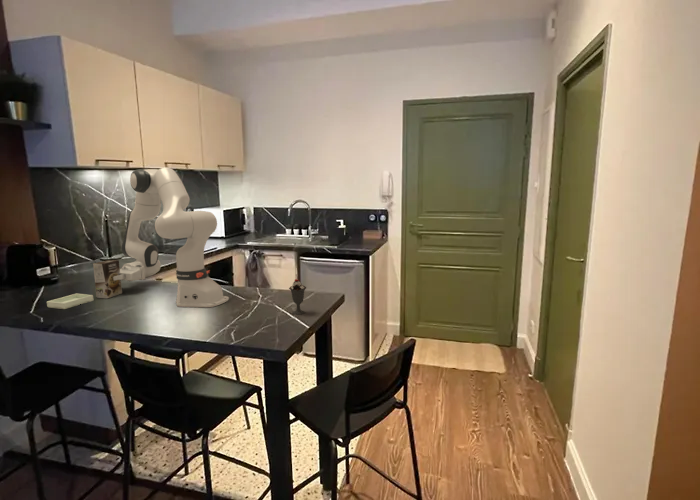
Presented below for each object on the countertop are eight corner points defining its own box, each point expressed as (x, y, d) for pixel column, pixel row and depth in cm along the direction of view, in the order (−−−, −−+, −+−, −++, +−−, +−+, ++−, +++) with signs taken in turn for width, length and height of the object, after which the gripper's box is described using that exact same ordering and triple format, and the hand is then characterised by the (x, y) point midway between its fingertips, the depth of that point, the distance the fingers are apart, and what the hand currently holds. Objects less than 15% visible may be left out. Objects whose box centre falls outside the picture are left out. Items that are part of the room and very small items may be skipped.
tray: (93, 300, 183) (92, 295, 183) (64, 309, 171) (63, 303, 171) (76, 298, 187) (76, 293, 186) (47, 307, 174) (46, 301, 174)
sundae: (298, 308, 166) (297, 272, 164) (310, 312, 162) (309, 274, 160) (286, 313, 161) (284, 275, 159) (298, 316, 157) (296, 278, 155)
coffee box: (108, 298, 186) (104, 263, 184) (96, 298, 188) (91, 263, 185) (123, 293, 195) (119, 259, 192) (111, 292, 196) (107, 259, 194)
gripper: (114, 264, 205) (88, 270, 192) (146, 266, 198) (122, 272, 185) (115, 276, 206) (90, 283, 193) (147, 279, 199) (123, 286, 186)
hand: (106, 278), depth 189 cm, fingers closed on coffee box, 7 cm apart
